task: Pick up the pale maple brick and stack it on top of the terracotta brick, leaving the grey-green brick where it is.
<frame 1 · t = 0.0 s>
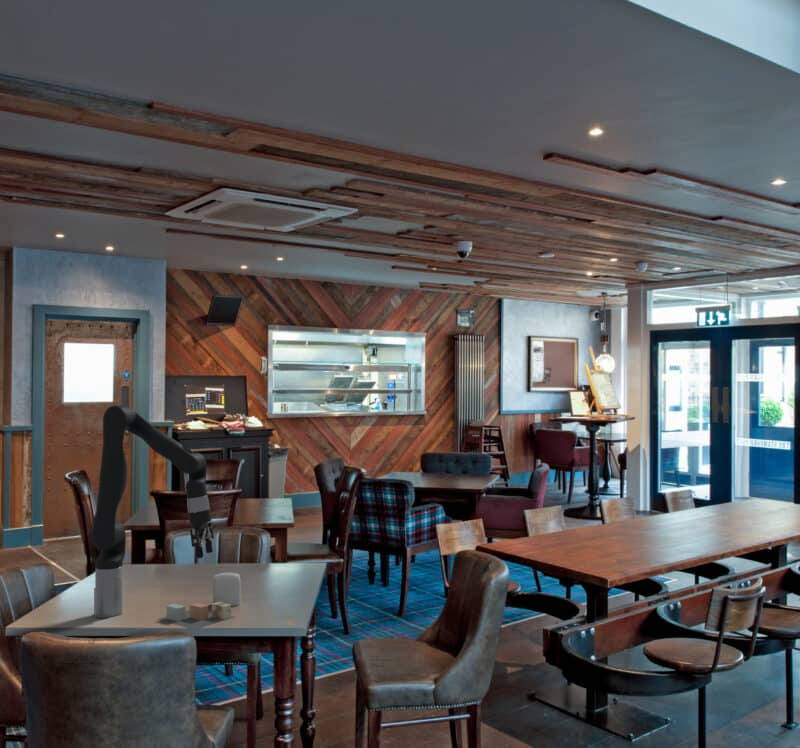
hand: (205, 555, 280), 22 cm above the table, tool pointing down, fingers open, 8 cm apart
maple brick: (221, 617, 280), point 1 cm above the table, touching charcoal mat
grey green brick: (175, 618, 277), point 1 cm above the table, touching charcoal mat
terracotta brick: (198, 617, 278), point 1 cm above the table, touching charcoal mat
charcoal mat: (196, 619, 278), on the table
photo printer: (226, 606, 296), on the table
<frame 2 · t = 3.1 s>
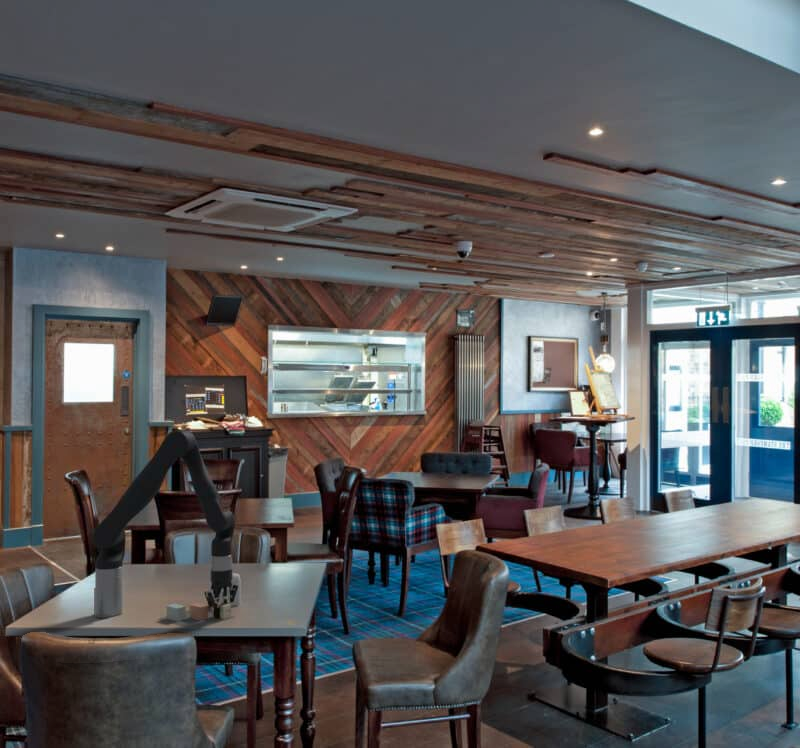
hand: (221, 616, 280), 1 cm above the table, tool pointing down, fingers closed on maple brick, 3 cm apart
maple brick: (221, 616, 280), point 1 cm above the table, touching charcoal mat, gripper
everything else where it was.
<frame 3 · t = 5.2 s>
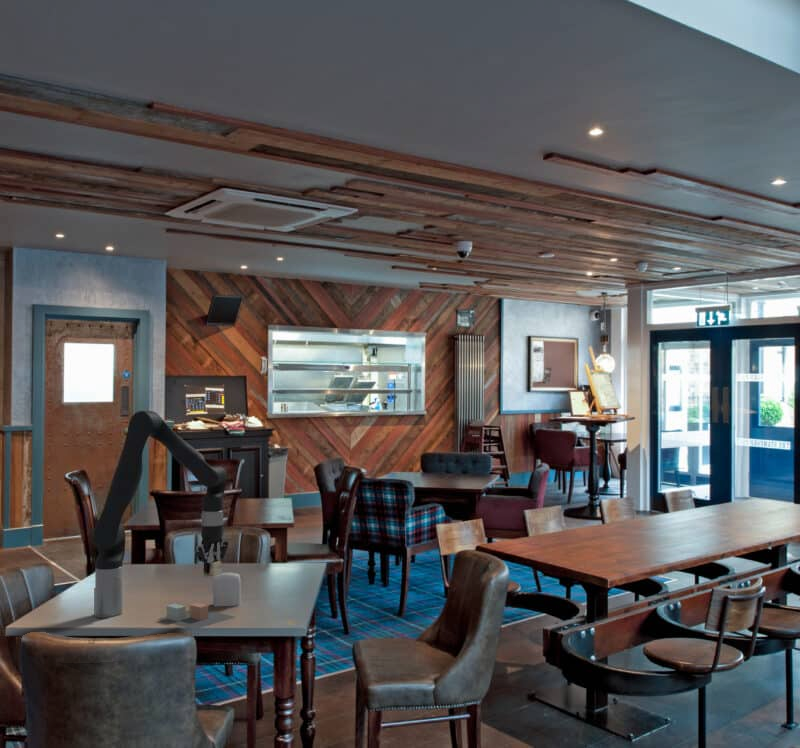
hand: (211, 572, 280), 16 cm above the table, tool pointing down, fingers closed on maple brick, 3 cm apart
maple brick: (212, 575, 279), point 15 cm above the table, tilted 11°, touching gripper
everything else where it was.
when the fingers open (7 cm above the table, at t = 7.7 s): maple brick stays where it is, resting on terracotta brick.
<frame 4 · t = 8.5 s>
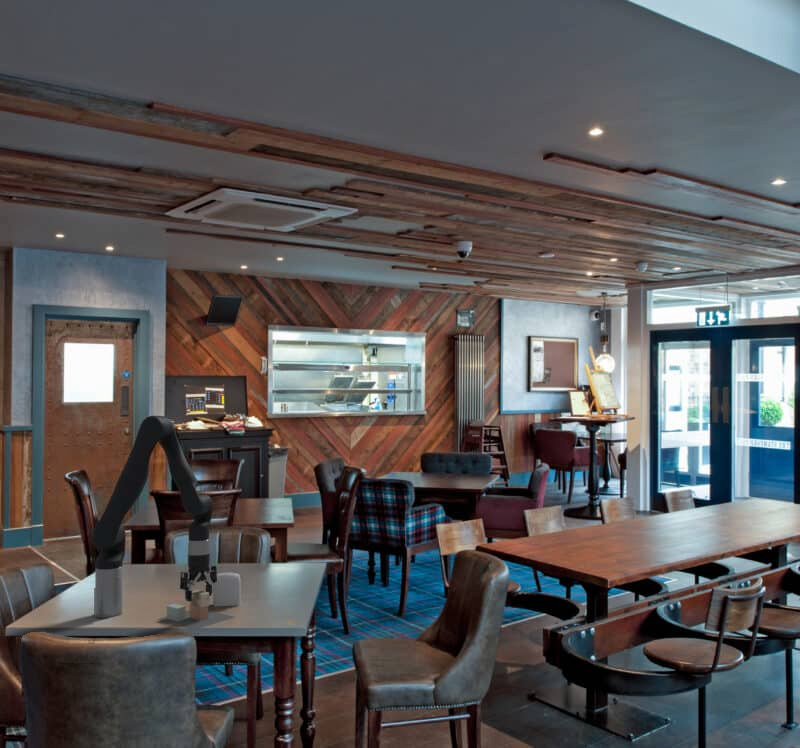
hand: (198, 598, 279), 7 cm above the table, tool pointing down, fingers open, 8 cm apart
maple brick: (199, 605, 278), point 5 cm above the table, touching terracotta brick
terracotta brick: (198, 617, 278), point 1 cm above the table, touching charcoal mat, maple brick
everything else where it was.
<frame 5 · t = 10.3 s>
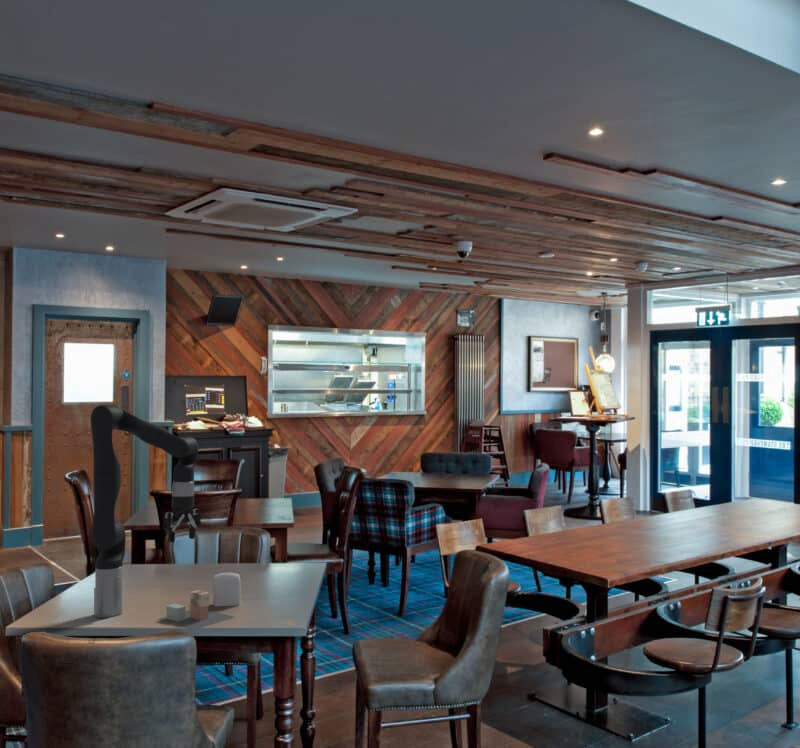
hand: (181, 540, 279), 28 cm above the table, tool pointing down, fingers open, 8 cm apart
nothing on the table moved.
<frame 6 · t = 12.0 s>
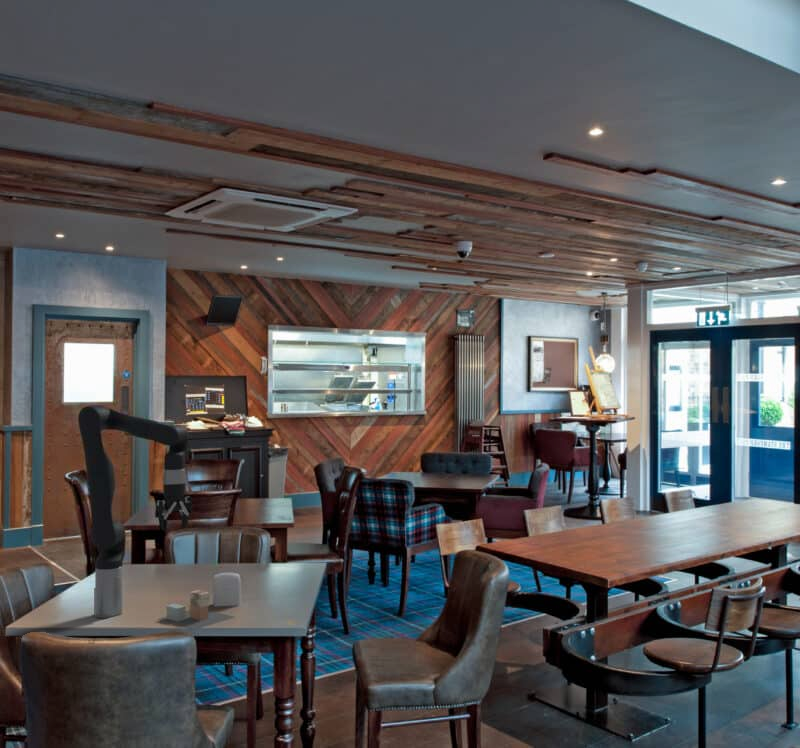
hand: (174, 528, 279), 32 cm above the table, tool pointing down, fingers open, 8 cm apart
nothing on the table moved.
at the end: maple brick 0.4 cm off-centre on the terracotta brick, point 4.5 cm above the terracotta brick's base; grey green brick moved 0.0 cm from its start; terracotta brick moved 0.0 cm from its start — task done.
